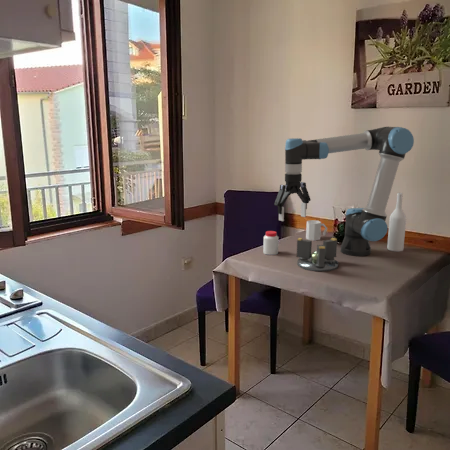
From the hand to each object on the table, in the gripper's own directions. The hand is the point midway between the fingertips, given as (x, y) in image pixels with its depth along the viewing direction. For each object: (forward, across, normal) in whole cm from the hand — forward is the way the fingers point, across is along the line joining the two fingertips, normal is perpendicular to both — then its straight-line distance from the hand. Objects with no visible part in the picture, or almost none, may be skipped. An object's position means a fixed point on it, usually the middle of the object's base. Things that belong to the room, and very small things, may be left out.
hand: (292, 218), depth 212 cm
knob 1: (+21, -7, +1) cm, 22 cm away
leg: (+21, -6, +13) cm, 25 cm away
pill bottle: (+23, -4, -20) cm, 31 cm away
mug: (+23, -43, -27) cm, 56 cm away
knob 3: (+21, -17, +8) cm, 28 cm away
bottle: (+23, -62, +12) cm, 67 cm away
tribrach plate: (+23, -10, +7) cm, 26 cm away
